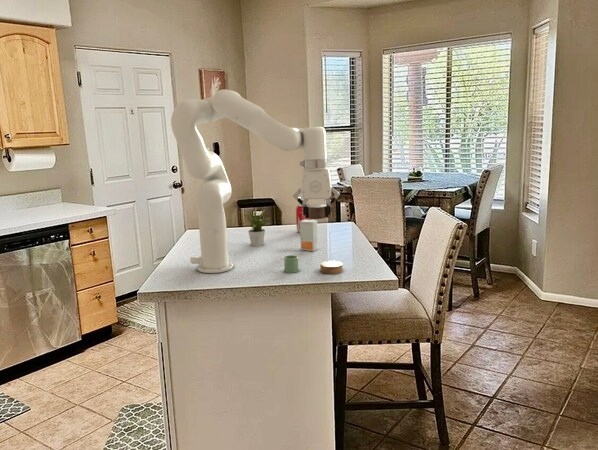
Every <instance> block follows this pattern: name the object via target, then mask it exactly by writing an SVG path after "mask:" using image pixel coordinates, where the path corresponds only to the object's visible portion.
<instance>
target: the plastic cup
mask: <svg viewBox="0 0 598 450" xmlns="http://www.w3.org/2000/svg"><path fill="white" fill-rule="evenodd" d="M283 268H284V270H283V271H284V272H285V273H287V274H295V273H298V272H299V256H298V255H293V254H291V255H285V256H284V257H283Z"/></svg>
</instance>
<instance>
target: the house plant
mask: <svg viewBox="0 0 598 450" xmlns="http://www.w3.org/2000/svg"><path fill="white" fill-rule="evenodd" d="M266 210H267V209H266V208H265V209H264V208H263V209H261V210H260V211H259V212H258V214H257V206H256V207H255V210H254V211H253V214H252V212H249V213H248V211H247V212H246V211H245V212H244V215H245V216H246V218H247V219H248V220H249V222H250V224H249V223H248V222H243V223H242V225H243V226H244V227H245V226H246V225H247V226H249V227H250V228H251V229H248V231H247V232H248V236H249V240H250V246H252V247H261V246H263V245H264V243H265V235H266V230H265V229H264V228H263V227H264V226H266V227H268V225H270V226H271V224H270V222H267V221H269V220H271V218H265V219H263V217H265V215H267V214H268V213H270V211H268V212H267V213H266V214H265V212H266ZM240 213H241V214H242V212H241V211H239V214H240Z"/></svg>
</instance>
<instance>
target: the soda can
mask: <svg viewBox="0 0 598 450" xmlns="http://www.w3.org/2000/svg"><path fill="white" fill-rule="evenodd" d="M306 204H307V206H308V205H311V204H310V203H306ZM295 219H296V220H295V222H296V231H297V232H298V233H299V234H300V221H302V220H312V219H309V218H305V215H303V206H302V205H301V204H300V203H298V204H296V207H295Z"/></svg>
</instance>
